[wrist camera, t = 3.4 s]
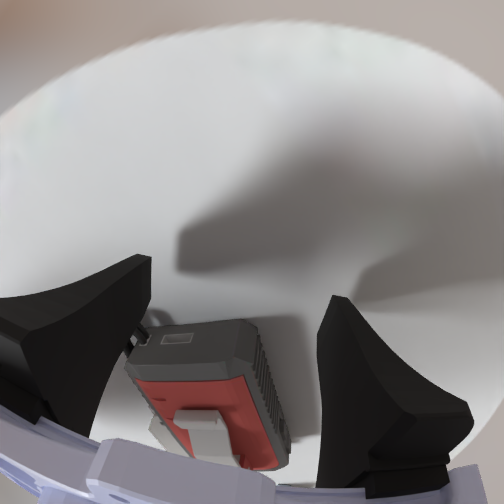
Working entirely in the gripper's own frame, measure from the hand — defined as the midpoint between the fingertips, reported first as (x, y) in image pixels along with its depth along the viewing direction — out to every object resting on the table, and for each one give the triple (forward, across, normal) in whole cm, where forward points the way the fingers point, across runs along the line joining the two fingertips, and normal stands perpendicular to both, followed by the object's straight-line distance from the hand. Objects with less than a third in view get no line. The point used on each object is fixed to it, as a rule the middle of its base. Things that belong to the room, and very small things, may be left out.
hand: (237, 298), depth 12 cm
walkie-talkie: (+2, -1, +12) cm, 12 cm away
